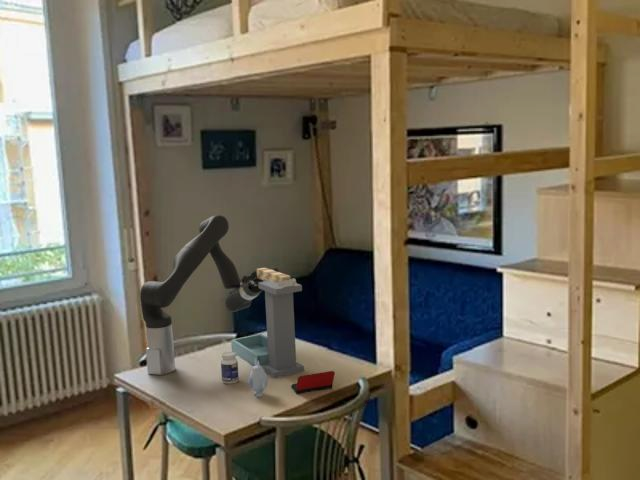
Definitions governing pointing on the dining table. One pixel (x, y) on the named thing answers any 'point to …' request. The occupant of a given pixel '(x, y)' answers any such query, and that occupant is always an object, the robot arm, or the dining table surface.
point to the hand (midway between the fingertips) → (266, 272)
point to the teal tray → (252, 349)
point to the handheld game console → (314, 382)
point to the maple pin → (271, 275)
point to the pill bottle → (229, 368)
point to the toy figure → (258, 379)
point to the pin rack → (280, 327)
